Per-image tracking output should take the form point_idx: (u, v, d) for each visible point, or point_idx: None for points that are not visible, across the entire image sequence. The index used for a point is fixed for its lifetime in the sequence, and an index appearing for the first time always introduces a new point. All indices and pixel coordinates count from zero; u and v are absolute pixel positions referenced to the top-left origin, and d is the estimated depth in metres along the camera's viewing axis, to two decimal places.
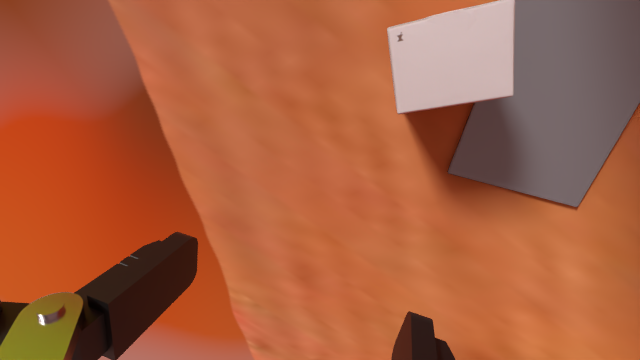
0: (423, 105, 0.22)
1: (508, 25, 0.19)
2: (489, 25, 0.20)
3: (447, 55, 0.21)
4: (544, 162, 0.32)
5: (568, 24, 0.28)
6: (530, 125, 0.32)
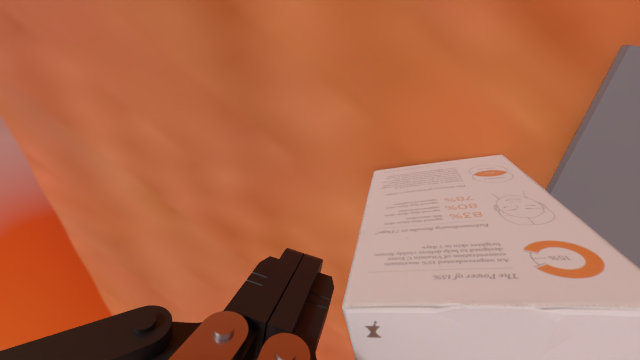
0: None
1: None
2: (609, 354, 0.07)
3: None
4: None
5: None
6: None
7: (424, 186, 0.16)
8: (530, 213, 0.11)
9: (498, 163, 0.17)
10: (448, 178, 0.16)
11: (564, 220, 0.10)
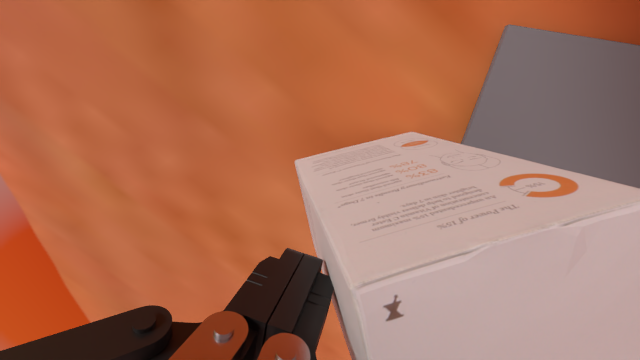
0: None
1: None
2: (614, 259, 0.07)
3: (518, 336, 0.07)
4: None
5: (568, 142, 0.17)
6: None
7: (359, 161, 0.15)
8: (477, 161, 0.12)
9: (415, 136, 0.17)
10: (379, 152, 0.16)
11: (509, 160, 0.11)
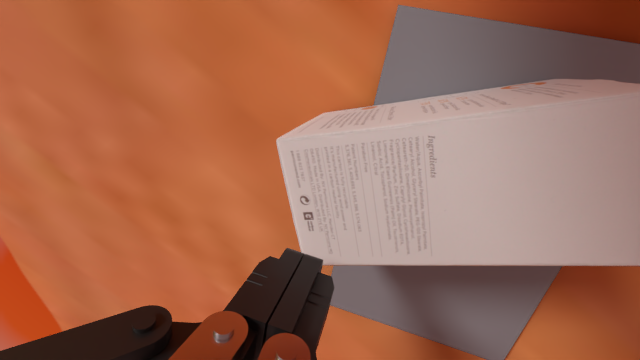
0: None
1: None
2: None
3: None
4: (449, 303, 0.22)
5: None
6: None
7: (379, 113, 0.14)
8: (458, 94, 0.16)
9: (347, 110, 0.18)
10: (366, 111, 0.15)
11: (470, 91, 0.16)
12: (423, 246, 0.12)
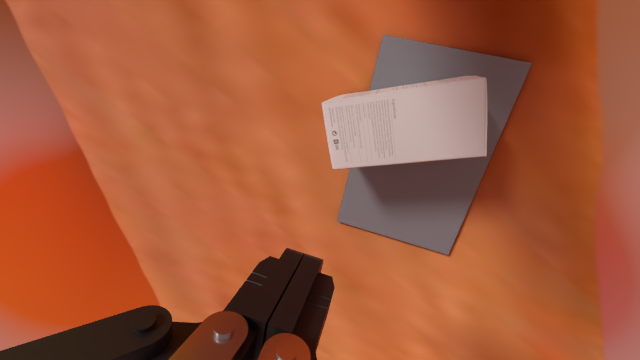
0: None
1: None
2: None
3: None
4: (415, 214, 0.35)
5: None
6: (399, 182, 0.35)
7: (371, 91, 0.27)
8: None
9: None
10: (365, 92, 0.29)
11: (422, 82, 0.30)
12: (391, 153, 0.26)
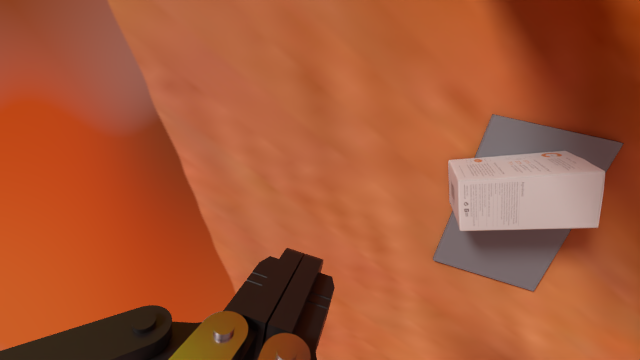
0: None
1: None
2: None
3: None
4: (506, 257, 0.42)
5: None
6: (495, 231, 0.41)
7: (493, 168, 0.33)
8: (521, 156, 0.36)
9: (464, 160, 0.38)
10: (483, 165, 0.35)
11: (526, 154, 0.36)
12: (515, 222, 0.32)
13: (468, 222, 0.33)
